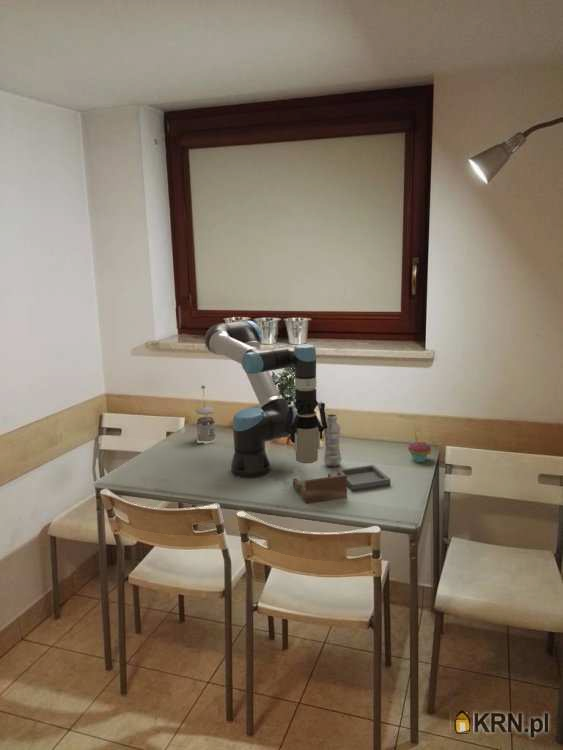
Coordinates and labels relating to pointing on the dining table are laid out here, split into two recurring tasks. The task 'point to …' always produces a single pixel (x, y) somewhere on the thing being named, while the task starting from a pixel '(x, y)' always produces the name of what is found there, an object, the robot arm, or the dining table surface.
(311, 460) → the travel mug
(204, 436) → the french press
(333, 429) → the metal bottle
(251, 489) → the dining table surface
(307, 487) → the walnut dock
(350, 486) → the charcoal tray
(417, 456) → the cupcake
